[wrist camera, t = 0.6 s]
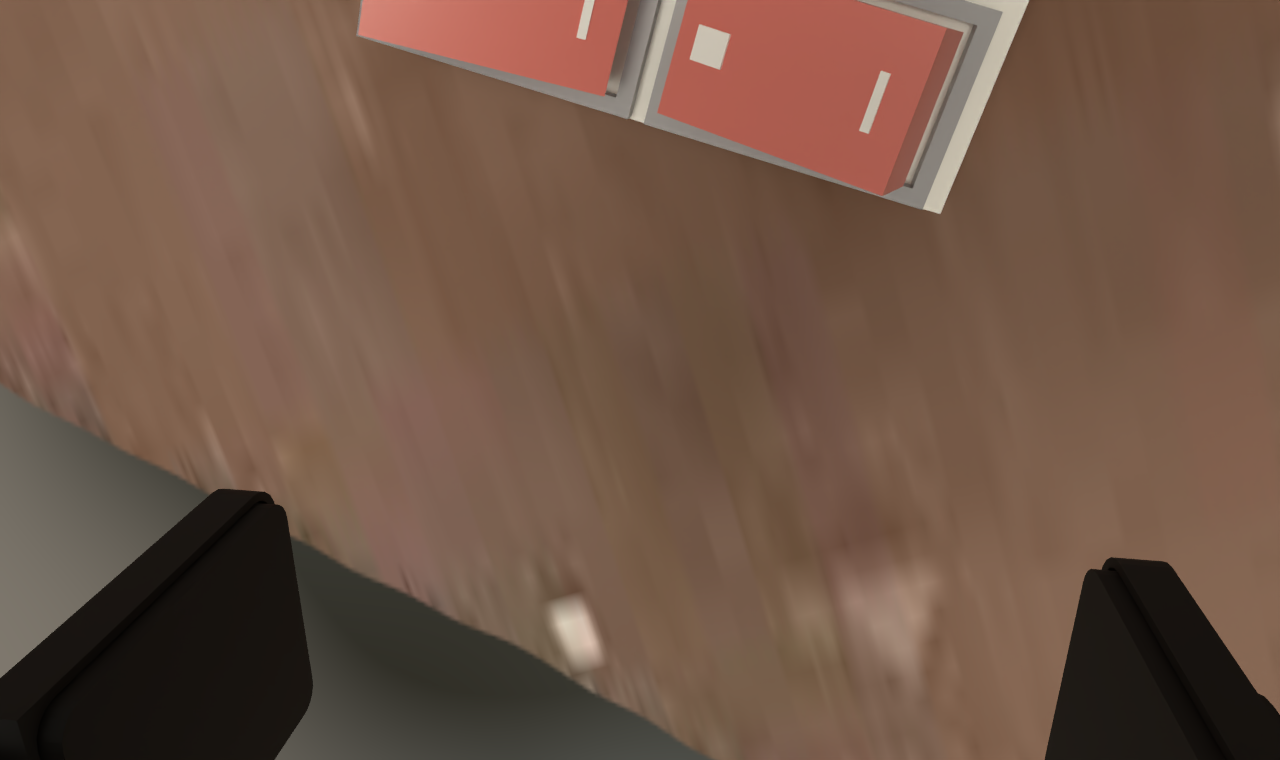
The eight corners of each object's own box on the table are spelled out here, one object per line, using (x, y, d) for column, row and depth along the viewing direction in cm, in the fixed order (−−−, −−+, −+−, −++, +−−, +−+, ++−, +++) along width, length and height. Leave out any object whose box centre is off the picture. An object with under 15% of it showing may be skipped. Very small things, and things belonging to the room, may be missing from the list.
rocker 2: (735, -37, 32) (699, -47, 29) (963, 32, 29) (946, 28, 27) (693, 110, 34) (655, 112, 31) (902, 186, 31) (881, 196, 29)
